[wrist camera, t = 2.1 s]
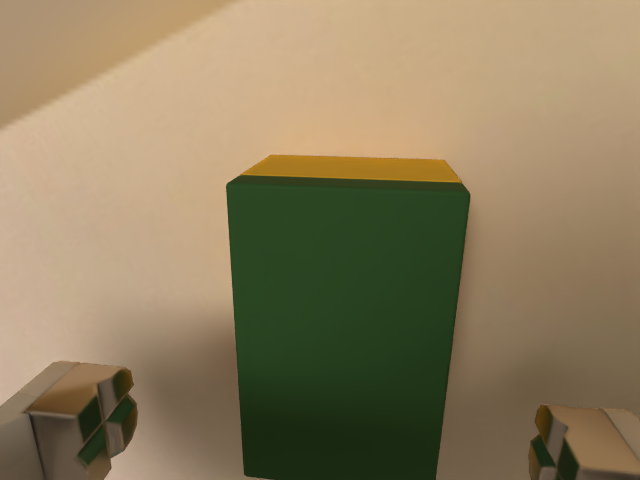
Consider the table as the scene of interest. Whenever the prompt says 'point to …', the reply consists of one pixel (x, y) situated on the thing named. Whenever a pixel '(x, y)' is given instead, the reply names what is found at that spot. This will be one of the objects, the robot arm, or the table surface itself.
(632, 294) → the table surface
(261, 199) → the sponge
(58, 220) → the table surface
